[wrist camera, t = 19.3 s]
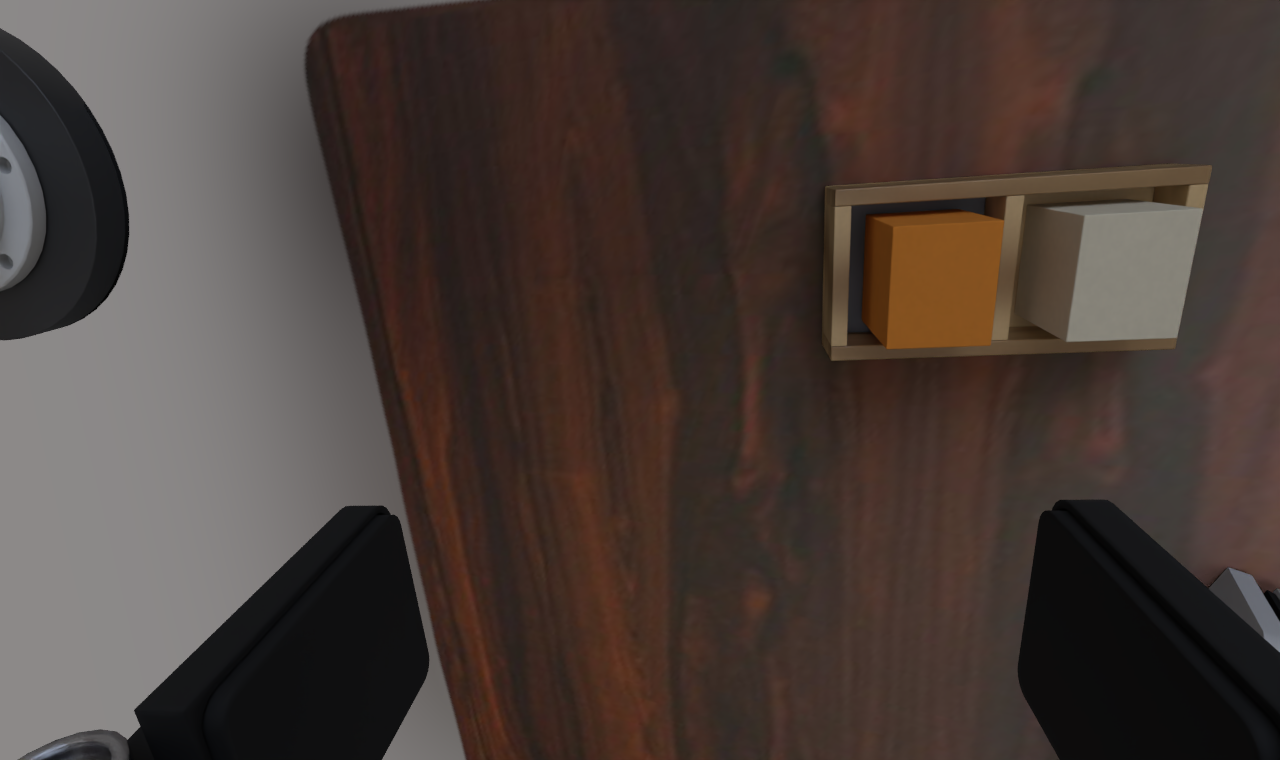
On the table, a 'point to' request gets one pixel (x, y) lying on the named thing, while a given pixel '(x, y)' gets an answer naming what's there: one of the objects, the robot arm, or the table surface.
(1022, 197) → the wooden frame
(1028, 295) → the cream block
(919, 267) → the orange block
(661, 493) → the table surface
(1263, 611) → the grey napkin holder
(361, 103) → the table surface
